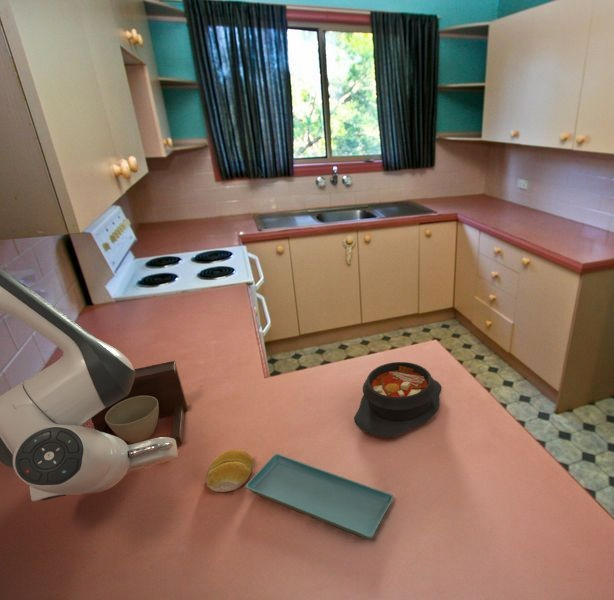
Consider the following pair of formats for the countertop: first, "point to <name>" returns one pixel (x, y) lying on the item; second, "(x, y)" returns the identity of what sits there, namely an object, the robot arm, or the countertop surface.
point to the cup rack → (163, 387)
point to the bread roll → (229, 471)
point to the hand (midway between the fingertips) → (123, 466)
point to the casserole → (397, 399)
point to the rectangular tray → (321, 495)
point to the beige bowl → (134, 418)
